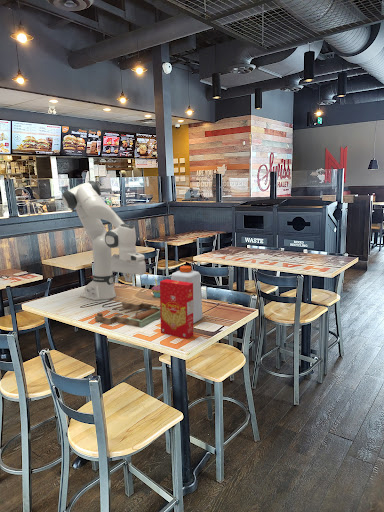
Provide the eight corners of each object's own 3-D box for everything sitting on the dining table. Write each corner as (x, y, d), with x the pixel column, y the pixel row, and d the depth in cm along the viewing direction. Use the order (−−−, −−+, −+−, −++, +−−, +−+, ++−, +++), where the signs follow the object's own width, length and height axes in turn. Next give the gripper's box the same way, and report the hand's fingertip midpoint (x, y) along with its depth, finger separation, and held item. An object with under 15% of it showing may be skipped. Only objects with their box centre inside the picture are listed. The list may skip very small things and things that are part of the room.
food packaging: (160, 332, 182) (159, 281, 177) (167, 329, 186) (166, 279, 182) (187, 339, 174) (186, 285, 170) (193, 335, 179) (193, 283, 174)
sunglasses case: (147, 312, 211) (151, 303, 208) (156, 321, 208) (160, 312, 205) (123, 322, 196) (128, 312, 193) (132, 331, 193) (137, 321, 191)
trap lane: (92, 321, 198) (92, 315, 197) (127, 305, 224) (127, 300, 223) (136, 330, 185) (136, 323, 185) (168, 312, 211) (168, 306, 211)
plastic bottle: (191, 326, 190) (191, 271, 185) (165, 321, 197) (165, 267, 193) (205, 317, 203) (205, 265, 198) (180, 313, 210) (180, 262, 206)
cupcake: (149, 297, 240) (148, 278, 238) (155, 294, 248) (154, 275, 246) (161, 298, 238) (161, 279, 235) (167, 295, 245) (167, 276, 243)
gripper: (107, 254, 202) (108, 280, 205) (140, 258, 193) (140, 284, 196) (115, 253, 208) (116, 277, 210) (147, 256, 199) (147, 282, 201)
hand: (128, 281), depth 203 cm, fingers closed
